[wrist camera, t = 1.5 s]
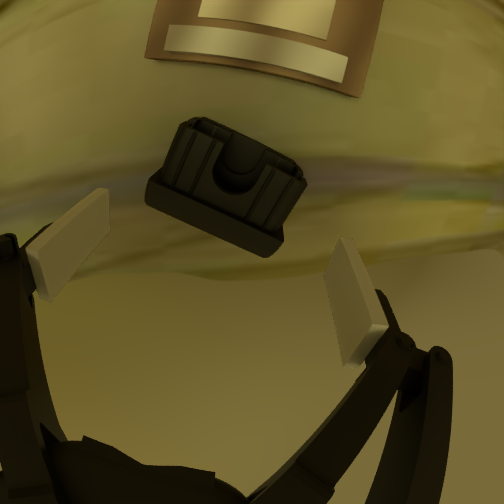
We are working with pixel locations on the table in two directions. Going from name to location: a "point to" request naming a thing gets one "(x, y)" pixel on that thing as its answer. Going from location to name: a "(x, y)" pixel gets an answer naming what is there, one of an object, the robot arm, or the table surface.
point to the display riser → (272, 37)
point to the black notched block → (227, 186)
